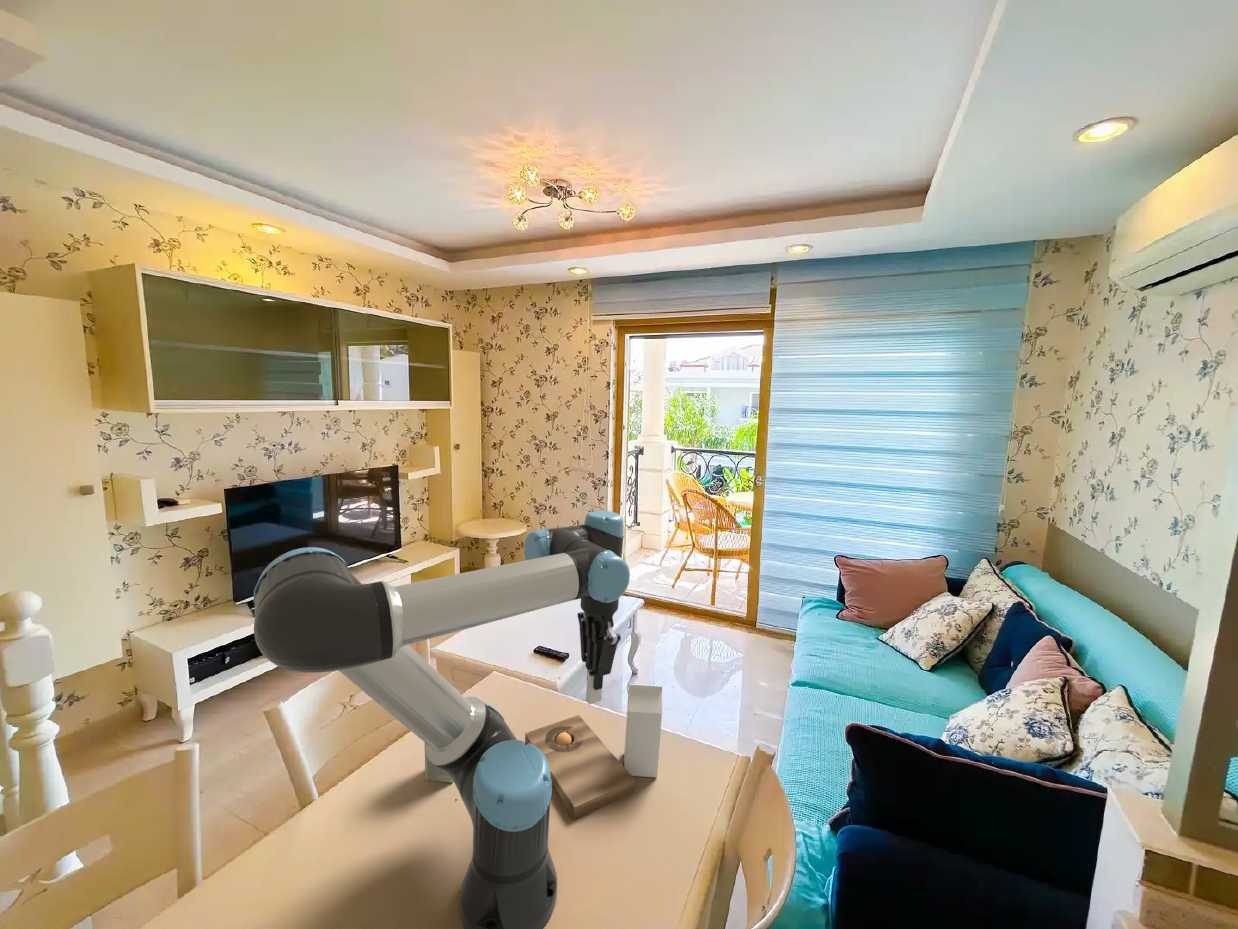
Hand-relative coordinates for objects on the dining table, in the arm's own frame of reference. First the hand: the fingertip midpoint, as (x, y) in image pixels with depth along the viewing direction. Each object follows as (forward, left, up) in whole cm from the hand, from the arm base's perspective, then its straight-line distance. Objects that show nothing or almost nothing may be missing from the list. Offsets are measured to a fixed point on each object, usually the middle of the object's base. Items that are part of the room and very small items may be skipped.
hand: (593, 700), depth 102 cm
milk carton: (+13, -1, -19) cm, 23 cm away
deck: (0, +6, -19) cm, 20 cm away
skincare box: (-25, +17, -19) cm, 36 cm away
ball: (0, +12, -17) cm, 21 cm away
